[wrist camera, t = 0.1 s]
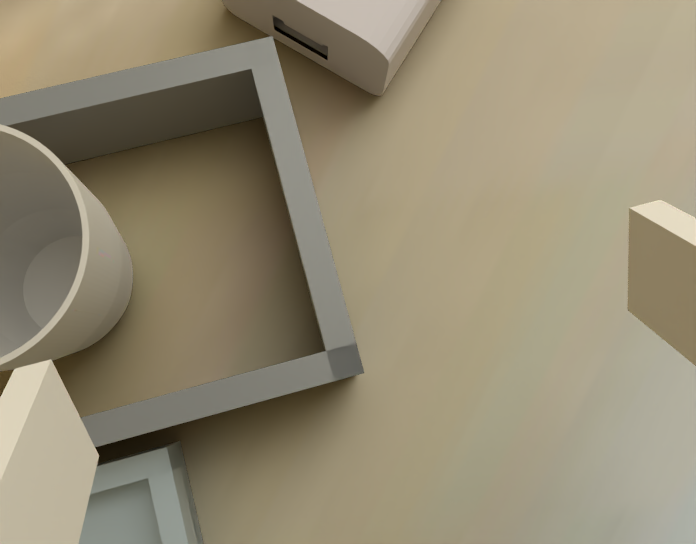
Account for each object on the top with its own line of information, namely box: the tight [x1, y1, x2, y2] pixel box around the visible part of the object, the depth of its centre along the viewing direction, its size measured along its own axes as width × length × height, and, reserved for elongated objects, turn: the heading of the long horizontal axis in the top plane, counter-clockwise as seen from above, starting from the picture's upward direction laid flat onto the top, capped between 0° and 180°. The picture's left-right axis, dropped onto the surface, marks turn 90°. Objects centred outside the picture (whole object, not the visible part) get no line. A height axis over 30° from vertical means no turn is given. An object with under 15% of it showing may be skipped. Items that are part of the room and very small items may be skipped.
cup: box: [0, 124, 133, 371], centre depth 25 cm, size 8×8×10 cm
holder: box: [0, 36, 364, 447], centre depth 27 cm, size 14×20×5 cm
